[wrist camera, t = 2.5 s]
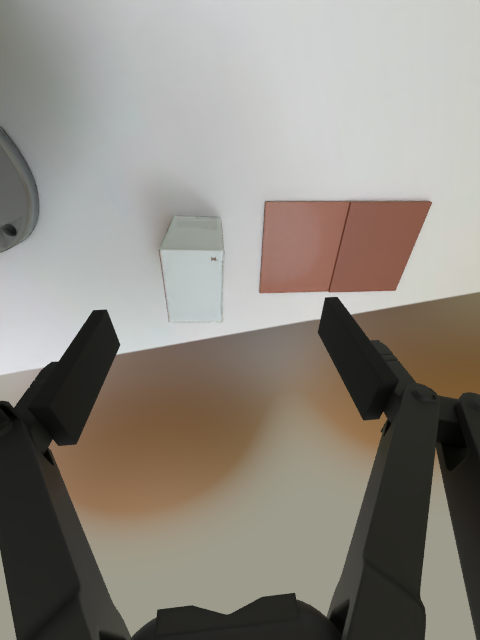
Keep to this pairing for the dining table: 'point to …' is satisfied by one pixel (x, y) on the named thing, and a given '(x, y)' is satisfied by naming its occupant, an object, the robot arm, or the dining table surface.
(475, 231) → the dining table surface
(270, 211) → the napkin
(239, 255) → the dining table surface
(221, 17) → the dining table surface
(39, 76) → the dining table surface
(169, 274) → the small box
